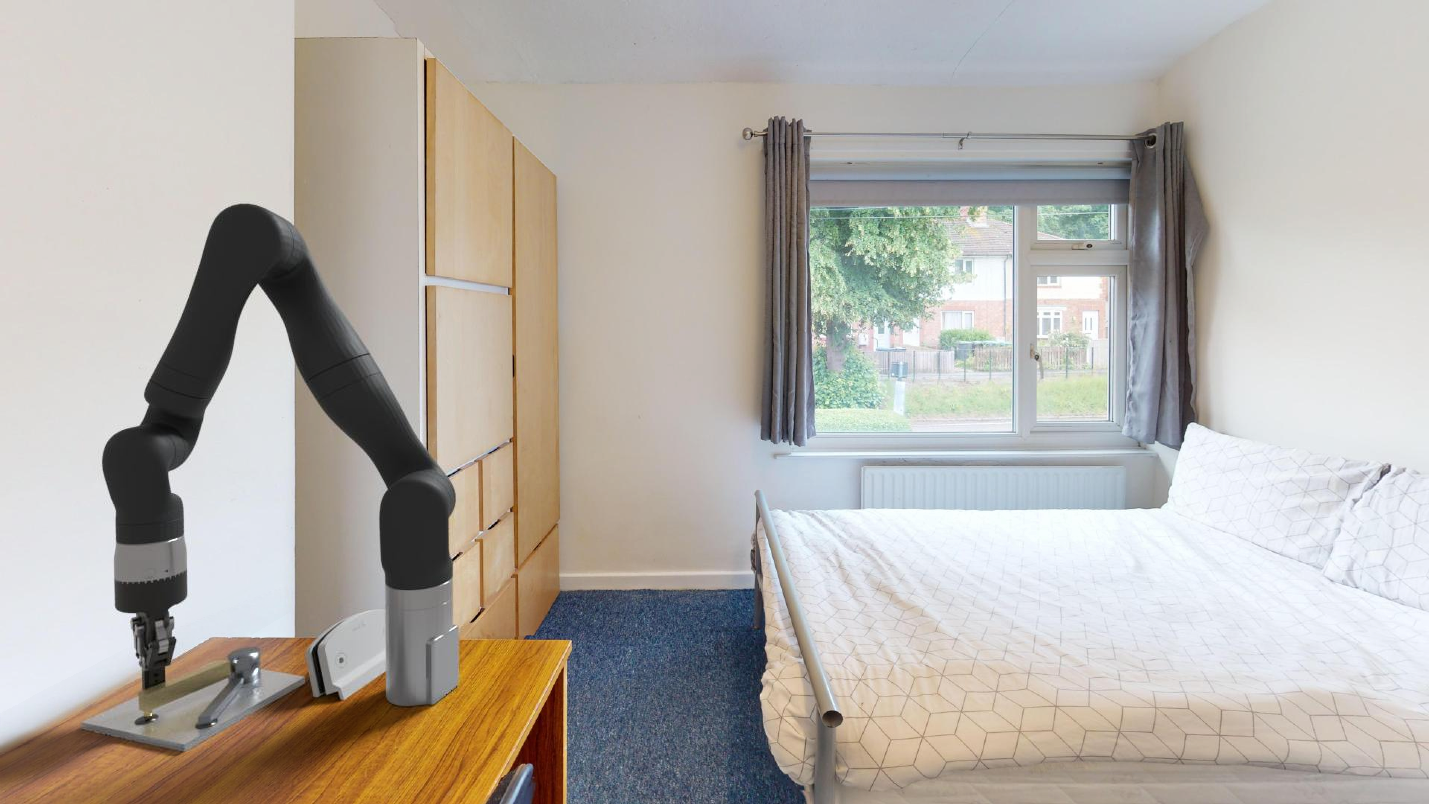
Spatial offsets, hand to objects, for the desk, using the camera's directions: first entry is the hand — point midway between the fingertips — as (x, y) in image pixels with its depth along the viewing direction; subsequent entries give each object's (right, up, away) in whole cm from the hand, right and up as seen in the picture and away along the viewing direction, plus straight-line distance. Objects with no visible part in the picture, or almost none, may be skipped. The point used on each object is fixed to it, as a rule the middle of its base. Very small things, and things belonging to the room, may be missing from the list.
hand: (153, 692), depth 90 cm
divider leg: (+3, -2, +1) cm, 4 cm away
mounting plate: (+4, -3, +3) cm, 6 cm away
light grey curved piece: (+21, -3, +14) cm, 25 cm away
